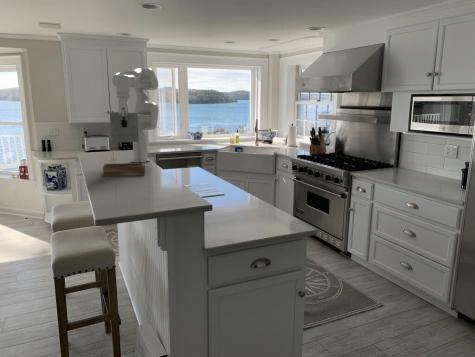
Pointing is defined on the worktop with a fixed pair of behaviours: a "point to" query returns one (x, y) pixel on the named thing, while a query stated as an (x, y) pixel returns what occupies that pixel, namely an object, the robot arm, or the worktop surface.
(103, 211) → the worktop surface
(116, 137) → the hip flask
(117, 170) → the u rest
